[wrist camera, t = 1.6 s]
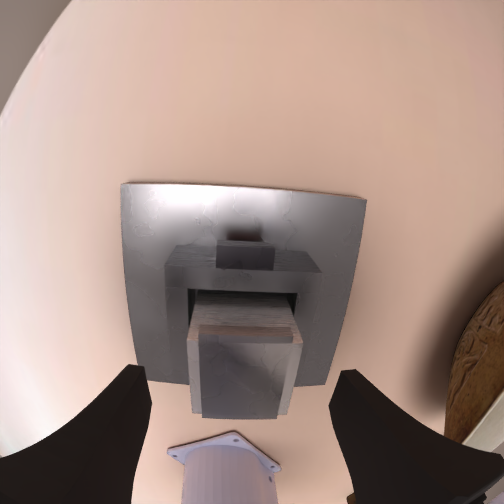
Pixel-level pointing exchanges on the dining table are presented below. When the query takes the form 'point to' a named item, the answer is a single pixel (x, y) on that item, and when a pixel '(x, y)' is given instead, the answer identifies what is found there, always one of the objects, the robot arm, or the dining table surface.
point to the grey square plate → (236, 263)
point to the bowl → (479, 379)
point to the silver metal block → (242, 354)
